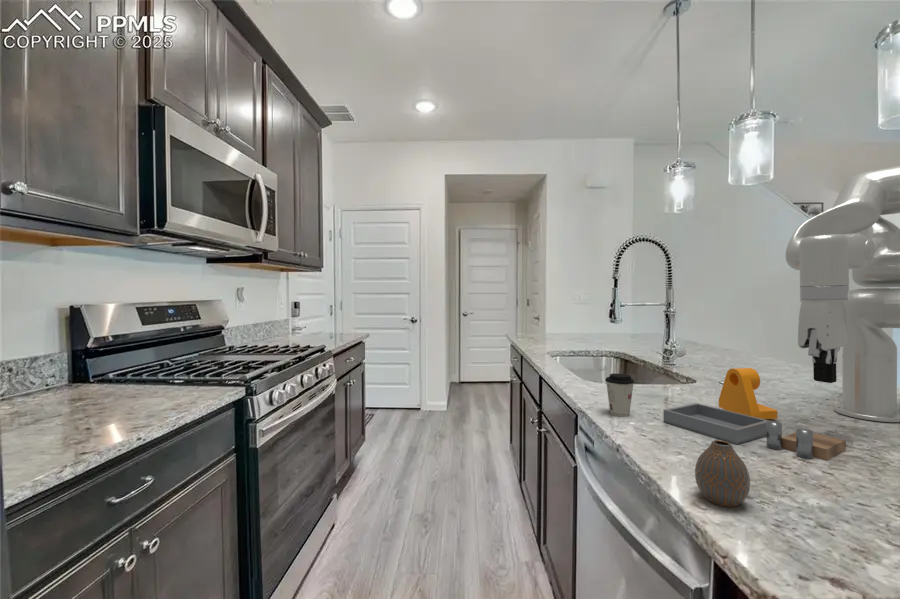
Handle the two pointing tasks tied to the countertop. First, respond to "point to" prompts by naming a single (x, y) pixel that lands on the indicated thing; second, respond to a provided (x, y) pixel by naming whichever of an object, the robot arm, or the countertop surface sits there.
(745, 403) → the bracket
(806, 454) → the peg
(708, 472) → the vase
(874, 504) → the countertop surface
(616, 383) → the coffee cup
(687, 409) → the tray
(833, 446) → the tan slab
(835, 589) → the countertop surface
